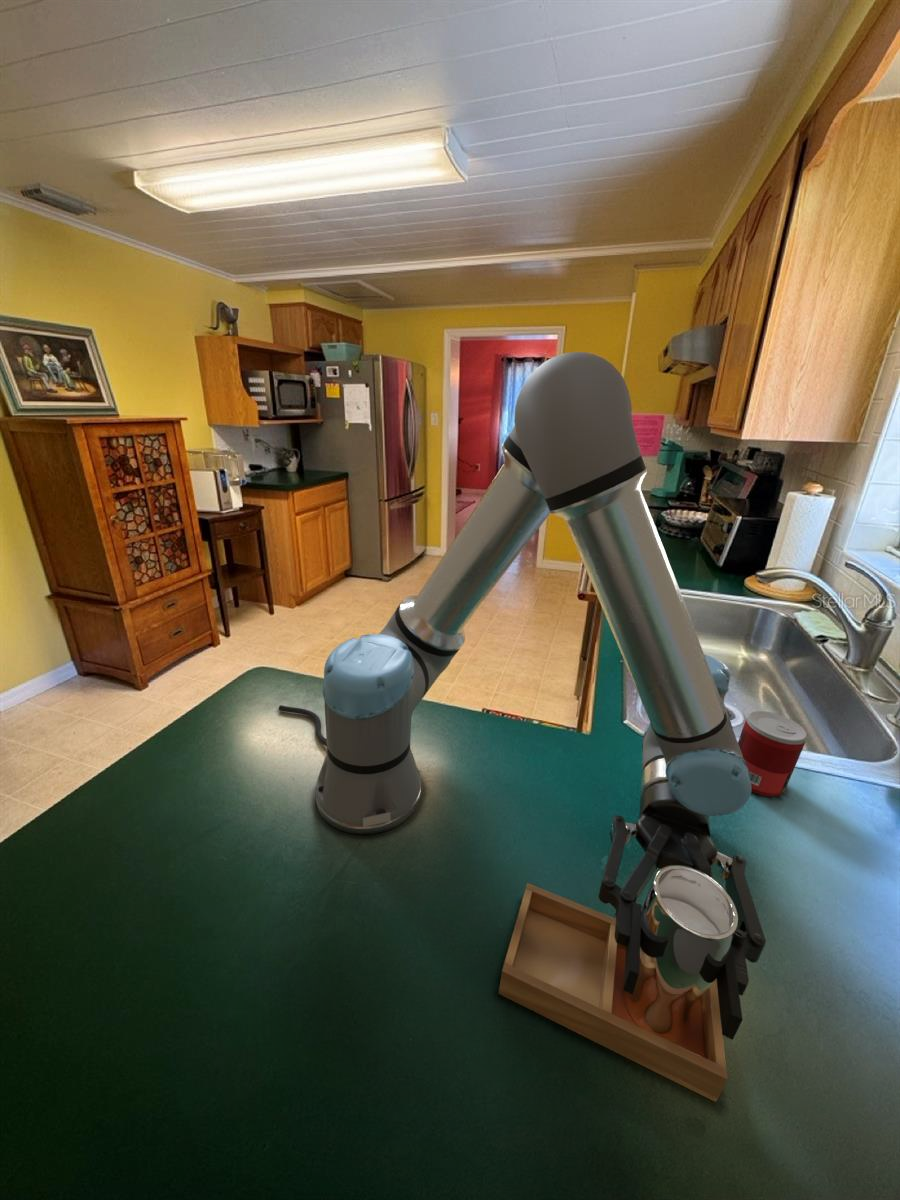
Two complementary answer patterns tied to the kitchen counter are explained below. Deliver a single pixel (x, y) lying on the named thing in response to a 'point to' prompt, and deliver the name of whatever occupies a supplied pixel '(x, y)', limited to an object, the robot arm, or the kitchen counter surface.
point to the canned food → (770, 750)
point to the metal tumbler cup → (679, 949)
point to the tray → (602, 991)
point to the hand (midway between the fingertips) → (680, 1003)
